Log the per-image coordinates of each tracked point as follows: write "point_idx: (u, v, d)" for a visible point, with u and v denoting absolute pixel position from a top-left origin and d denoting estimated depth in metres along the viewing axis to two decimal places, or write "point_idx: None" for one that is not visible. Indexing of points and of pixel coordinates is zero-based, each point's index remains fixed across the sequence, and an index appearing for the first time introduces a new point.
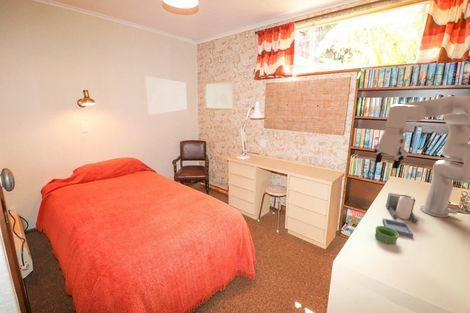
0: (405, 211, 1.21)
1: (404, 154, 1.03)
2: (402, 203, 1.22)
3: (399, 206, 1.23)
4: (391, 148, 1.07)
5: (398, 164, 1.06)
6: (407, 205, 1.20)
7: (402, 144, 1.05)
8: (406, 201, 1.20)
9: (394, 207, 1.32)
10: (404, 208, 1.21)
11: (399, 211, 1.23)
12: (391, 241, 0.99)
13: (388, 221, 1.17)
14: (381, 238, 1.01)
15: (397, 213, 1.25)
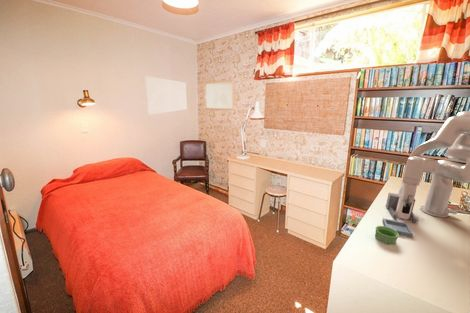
0: None
1: None
2: (402, 203, 1.22)
3: (399, 206, 1.23)
4: None
5: None
6: None
7: None
8: None
9: (394, 207, 1.32)
10: None
11: (399, 211, 1.23)
12: (391, 241, 0.99)
13: (388, 221, 1.17)
14: (381, 238, 1.01)
15: (397, 213, 1.25)
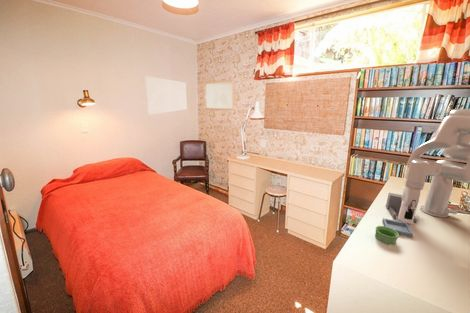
0: None
1: None
2: (405, 207, 1.17)
3: (402, 210, 1.19)
4: None
5: None
6: None
7: None
8: (409, 205, 1.15)
9: (394, 207, 1.32)
10: None
11: (402, 215, 1.18)
12: (391, 241, 0.99)
13: (388, 221, 1.17)
14: (381, 238, 1.01)
15: (400, 217, 1.20)
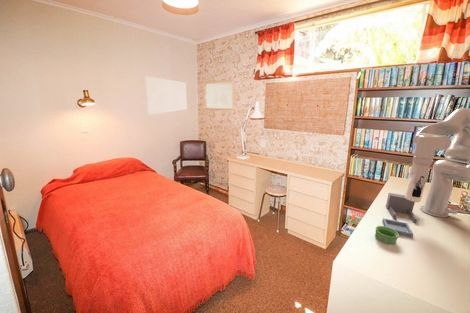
0: None
1: None
2: (413, 184, 1.12)
3: (409, 188, 1.13)
4: None
5: None
6: None
7: None
8: (417, 182, 1.10)
9: (394, 207, 1.32)
10: None
11: (410, 193, 1.13)
12: (391, 241, 0.99)
13: (388, 221, 1.17)
14: (381, 238, 1.01)
15: (407, 196, 1.15)
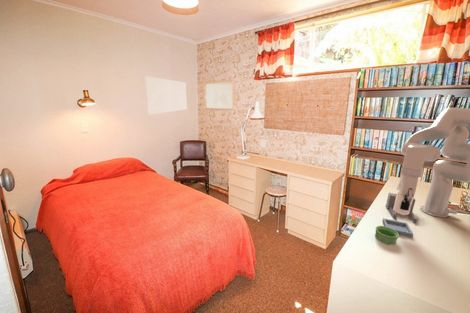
0: None
1: None
2: (401, 196, 1.06)
3: (398, 200, 1.08)
4: None
5: None
6: None
7: None
8: None
9: None
10: None
11: (398, 206, 1.08)
12: (391, 241, 0.99)
13: (388, 221, 1.17)
14: (381, 238, 1.01)
15: (395, 208, 1.09)
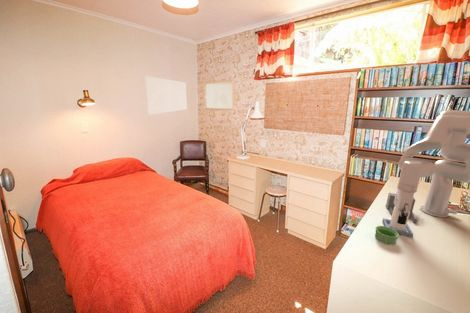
0: None
1: None
2: (397, 213, 1.09)
3: (394, 216, 1.10)
4: None
5: None
6: None
7: None
8: None
9: None
10: None
11: (394, 222, 1.10)
12: (391, 241, 0.99)
13: (388, 221, 1.17)
14: (381, 238, 1.01)
15: (392, 224, 1.12)
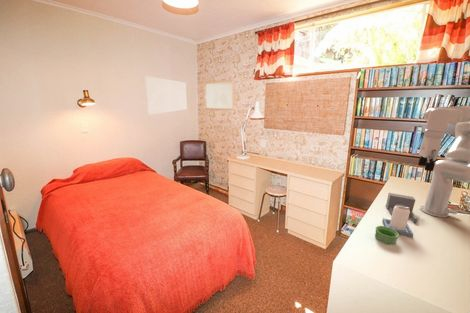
0: (400, 223, 1.09)
1: None
2: (397, 213, 1.09)
3: (394, 217, 1.11)
4: None
5: None
6: (403, 216, 1.08)
7: None
8: (401, 211, 1.07)
9: None
10: (399, 219, 1.08)
11: (394, 222, 1.10)
12: (391, 241, 0.99)
13: (388, 221, 1.17)
14: (381, 238, 1.01)
15: (392, 224, 1.12)
